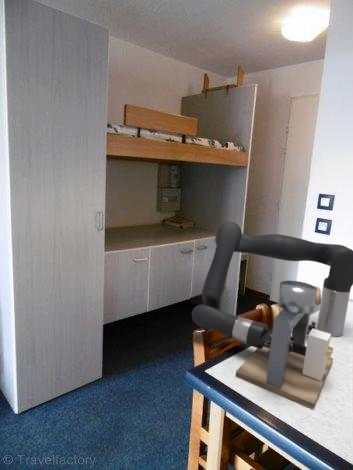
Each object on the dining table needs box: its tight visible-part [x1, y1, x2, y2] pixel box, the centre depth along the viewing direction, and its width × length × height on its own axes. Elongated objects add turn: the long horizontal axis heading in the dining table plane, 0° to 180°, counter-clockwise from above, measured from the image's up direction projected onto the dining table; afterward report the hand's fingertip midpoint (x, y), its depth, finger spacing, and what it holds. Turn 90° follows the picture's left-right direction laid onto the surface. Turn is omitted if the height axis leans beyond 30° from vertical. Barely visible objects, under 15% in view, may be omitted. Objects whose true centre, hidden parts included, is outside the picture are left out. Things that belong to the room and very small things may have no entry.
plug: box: [302, 328, 334, 381], centre depth 92 cm, size 5×6×12 cm
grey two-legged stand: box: [266, 280, 318, 389], centre depth 95 cm, size 26×10×24 cm, turn 146°
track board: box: [235, 347, 334, 410], centre depth 98 cm, size 27×21×2 cm
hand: (307, 351), depth 94 cm, fingers closed
